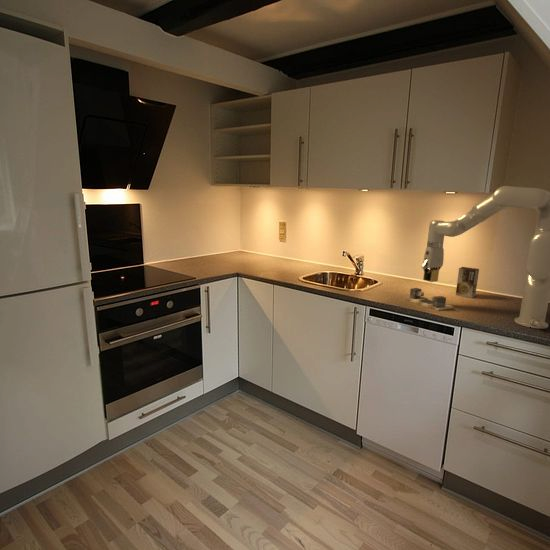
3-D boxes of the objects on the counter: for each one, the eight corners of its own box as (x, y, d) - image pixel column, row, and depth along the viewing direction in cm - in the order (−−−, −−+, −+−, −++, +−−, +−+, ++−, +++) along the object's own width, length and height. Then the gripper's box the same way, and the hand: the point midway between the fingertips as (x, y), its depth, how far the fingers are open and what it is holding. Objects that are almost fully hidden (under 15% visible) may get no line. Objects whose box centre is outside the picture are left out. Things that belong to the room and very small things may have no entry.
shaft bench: (452, 307, 187) (453, 296, 185) (437, 310, 182) (439, 299, 180) (418, 297, 205) (420, 287, 203) (404, 299, 200) (406, 289, 198)
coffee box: (475, 296, 210) (479, 268, 207) (471, 298, 206) (476, 270, 203) (459, 293, 217) (462, 266, 213) (455, 294, 212) (458, 267, 209)
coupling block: (437, 281, 190) (439, 268, 188) (431, 282, 187) (432, 269, 186) (429, 279, 194) (431, 266, 192) (423, 279, 192) (424, 267, 190)
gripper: (429, 246, 179) (425, 282, 183) (452, 245, 187) (447, 279, 191) (417, 244, 186) (413, 279, 190) (439, 243, 194) (435, 276, 198)
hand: (430, 279), depth 190 cm, fingers closed on coupling block, 5 cm apart
